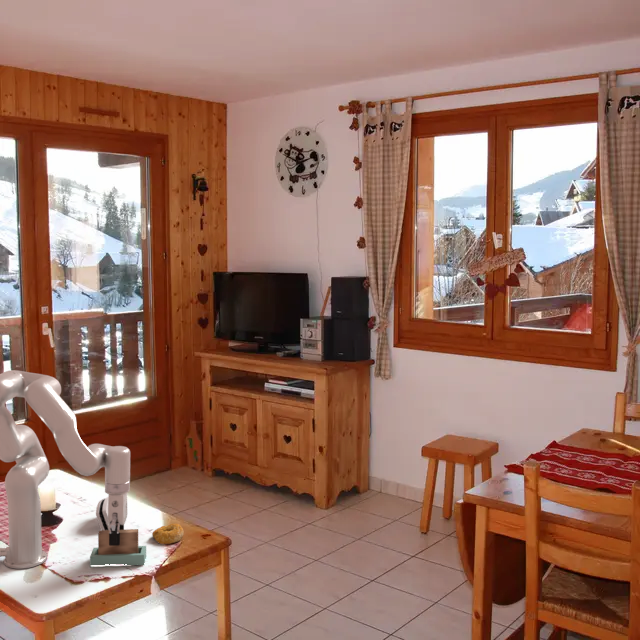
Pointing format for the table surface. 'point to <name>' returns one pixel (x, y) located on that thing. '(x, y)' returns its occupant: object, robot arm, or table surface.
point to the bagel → (168, 534)
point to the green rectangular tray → (119, 558)
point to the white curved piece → (103, 514)
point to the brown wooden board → (126, 542)
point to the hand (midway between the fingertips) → (116, 538)
